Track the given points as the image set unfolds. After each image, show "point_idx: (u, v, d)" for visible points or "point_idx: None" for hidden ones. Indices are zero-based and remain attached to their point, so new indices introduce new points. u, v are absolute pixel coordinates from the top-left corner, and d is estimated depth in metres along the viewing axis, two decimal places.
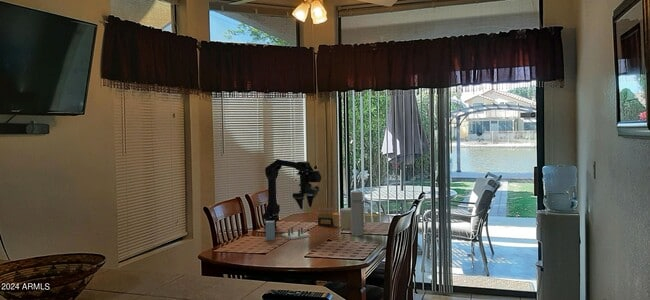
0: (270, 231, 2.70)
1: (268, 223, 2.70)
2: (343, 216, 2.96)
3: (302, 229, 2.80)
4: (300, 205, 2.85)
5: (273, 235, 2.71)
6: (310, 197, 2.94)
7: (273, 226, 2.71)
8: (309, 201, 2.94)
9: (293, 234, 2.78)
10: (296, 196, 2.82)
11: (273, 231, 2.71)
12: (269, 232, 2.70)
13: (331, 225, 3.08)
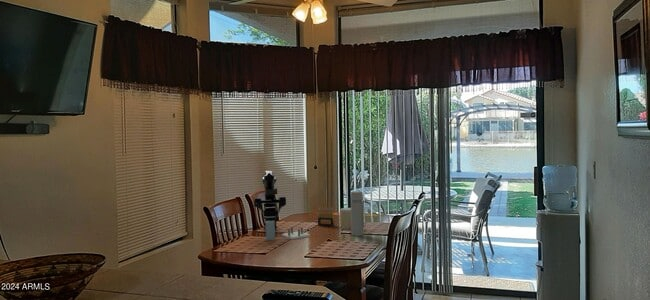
0: (270, 231, 2.70)
1: (268, 223, 2.70)
2: (343, 216, 2.96)
3: (302, 229, 2.80)
4: (261, 210, 2.81)
5: (273, 235, 2.71)
6: None
7: (273, 226, 2.71)
8: (278, 208, 2.84)
9: (293, 234, 2.78)
10: (254, 202, 2.85)
11: (273, 231, 2.71)
12: (269, 232, 2.70)
13: (331, 225, 3.08)
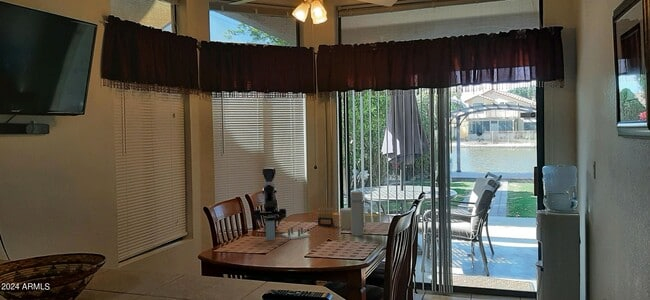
0: (270, 231, 2.70)
1: (268, 223, 2.70)
2: (343, 216, 2.96)
3: (302, 229, 2.80)
4: (260, 222, 2.73)
5: (273, 235, 2.71)
6: None
7: (273, 226, 2.71)
8: (278, 221, 2.76)
9: (293, 234, 2.78)
10: (253, 214, 2.77)
11: (273, 231, 2.71)
12: (269, 232, 2.70)
13: (331, 225, 3.08)
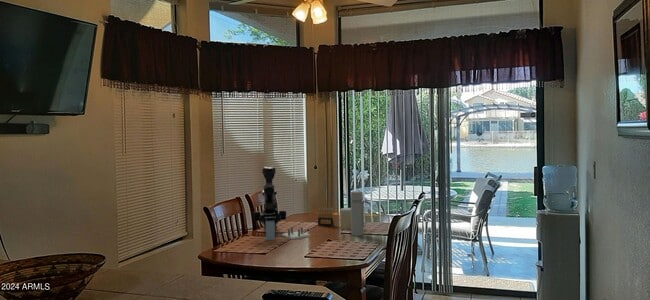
0: (270, 231, 2.70)
1: (268, 223, 2.70)
2: (343, 216, 2.96)
3: (302, 229, 2.80)
4: (263, 224, 2.73)
5: (273, 235, 2.71)
6: (275, 219, 2.76)
7: (273, 226, 2.71)
8: None
9: (293, 234, 2.78)
10: None
11: (273, 231, 2.71)
12: (269, 232, 2.70)
13: (331, 225, 3.08)
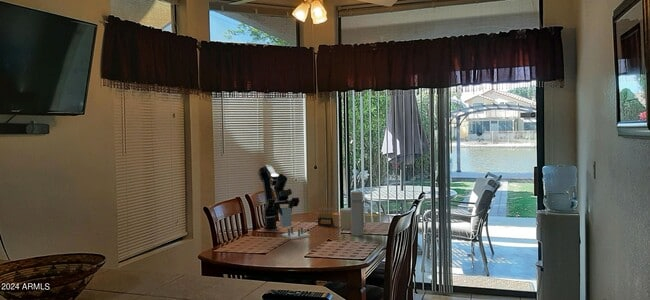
0: (287, 218, 2.73)
1: (285, 210, 2.72)
2: (343, 216, 2.96)
3: (302, 229, 2.80)
4: (279, 211, 2.74)
5: (290, 221, 2.74)
6: (289, 205, 2.79)
7: (290, 212, 2.74)
8: None
9: (293, 234, 2.78)
10: (267, 204, 2.75)
11: (290, 217, 2.74)
12: (286, 218, 2.73)
13: (331, 225, 3.08)
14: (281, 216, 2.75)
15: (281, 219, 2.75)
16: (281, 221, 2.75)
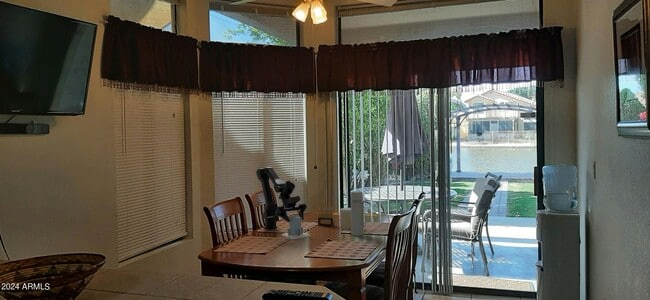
0: (297, 226, 2.76)
1: (295, 218, 2.76)
2: (343, 216, 2.96)
3: (302, 229, 2.80)
4: (286, 218, 2.76)
5: (300, 230, 2.77)
6: (300, 212, 2.83)
7: (300, 221, 2.77)
8: (300, 216, 2.82)
9: None
10: (277, 211, 2.77)
11: (300, 226, 2.77)
12: (296, 227, 2.76)
13: (331, 225, 3.08)
14: (291, 225, 2.77)
15: (291, 228, 2.77)
16: (291, 230, 2.78)
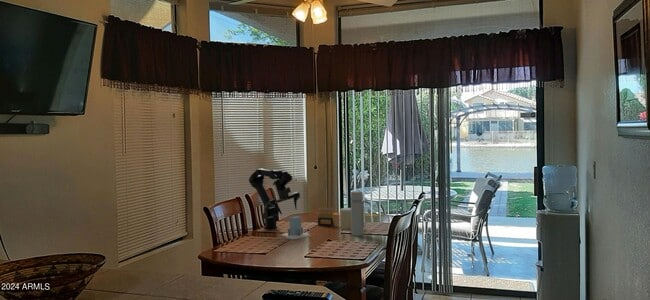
0: (297, 226, 2.76)
1: (295, 218, 2.76)
2: (343, 216, 2.96)
3: (302, 229, 2.80)
4: (279, 211, 2.89)
5: (300, 230, 2.77)
6: None
7: (300, 221, 2.77)
8: (294, 204, 2.92)
9: None
10: (270, 204, 2.90)
11: (300, 226, 2.77)
12: (296, 227, 2.76)
13: (331, 225, 3.08)
14: (291, 225, 2.77)
15: (291, 228, 2.77)
16: (291, 230, 2.78)
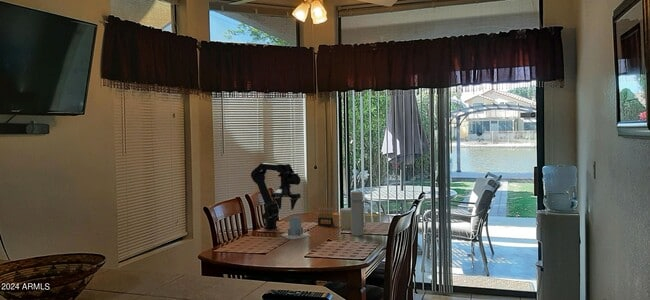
0: (297, 226, 2.76)
1: (295, 218, 2.76)
2: (343, 216, 2.96)
3: (302, 229, 2.80)
4: None
5: (300, 230, 2.77)
6: None
7: (300, 221, 2.77)
8: None
9: None
10: None
11: (300, 226, 2.77)
12: (296, 227, 2.76)
13: (331, 225, 3.08)
14: (291, 225, 2.77)
15: (291, 228, 2.77)
16: (291, 230, 2.78)
